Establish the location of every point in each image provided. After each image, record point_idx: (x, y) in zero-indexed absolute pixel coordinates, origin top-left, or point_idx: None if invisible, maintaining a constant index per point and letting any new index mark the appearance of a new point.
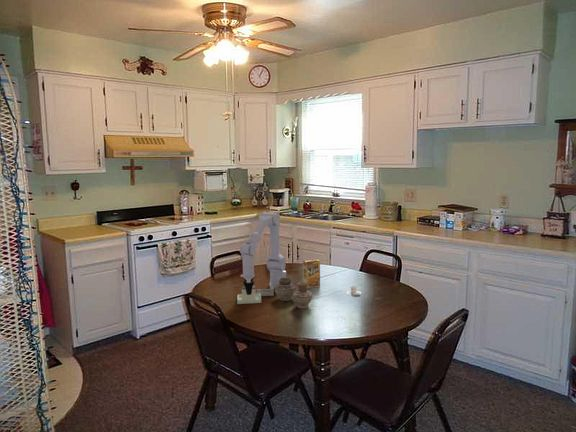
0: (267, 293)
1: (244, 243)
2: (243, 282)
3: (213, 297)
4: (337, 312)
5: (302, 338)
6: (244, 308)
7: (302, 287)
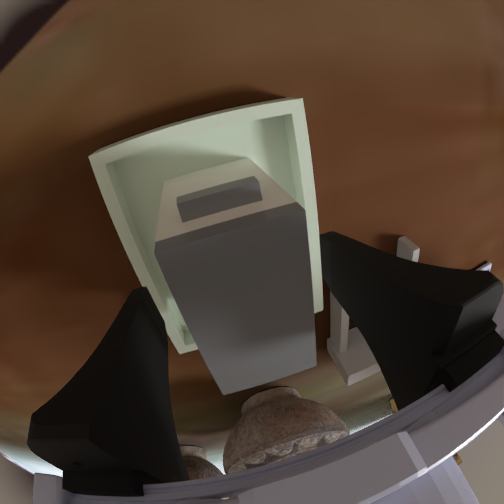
0: (338, 333)
1: None
2: (27, 441)
3: None
4: None
5: None
6: (26, 256)
7: None
